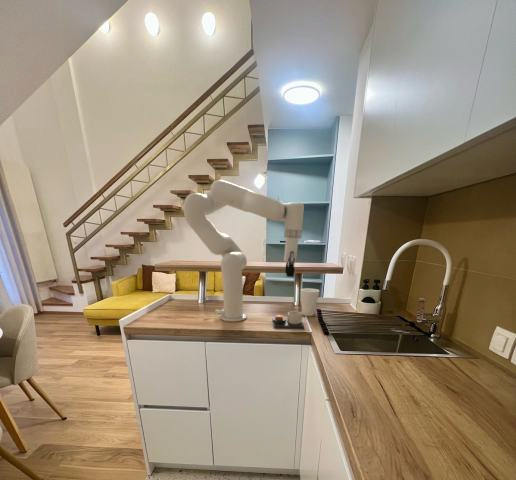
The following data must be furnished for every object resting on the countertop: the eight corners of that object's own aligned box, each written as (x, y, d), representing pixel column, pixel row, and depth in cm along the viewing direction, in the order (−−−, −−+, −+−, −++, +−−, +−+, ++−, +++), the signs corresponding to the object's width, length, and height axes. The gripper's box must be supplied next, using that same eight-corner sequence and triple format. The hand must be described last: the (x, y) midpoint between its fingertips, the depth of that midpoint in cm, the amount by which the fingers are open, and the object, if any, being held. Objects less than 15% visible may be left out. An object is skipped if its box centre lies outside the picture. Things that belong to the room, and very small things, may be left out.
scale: (272, 328, 127) (273, 322, 126) (272, 321, 137) (272, 315, 136) (303, 329, 127) (304, 322, 126) (300, 321, 137) (301, 315, 136)
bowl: (287, 324, 128) (288, 314, 126) (286, 320, 134) (287, 310, 133) (302, 324, 128) (303, 315, 126) (300, 320, 134) (301, 311, 133)
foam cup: (316, 312, 153) (318, 288, 148) (317, 317, 145) (320, 292, 140) (298, 311, 154) (300, 288, 149) (299, 316, 145) (301, 291, 140)
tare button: (275, 320, 129) (276, 316, 129) (275, 318, 132) (275, 314, 132) (282, 320, 129) (282, 317, 129) (282, 318, 132) (282, 315, 132)
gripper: (283, 233, 128) (280, 271, 135) (285, 234, 113) (281, 277, 119) (299, 234, 128) (295, 272, 135) (303, 235, 112) (299, 278, 119)
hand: (289, 274), depth 127 cm, fingers open, 9 cm apart
